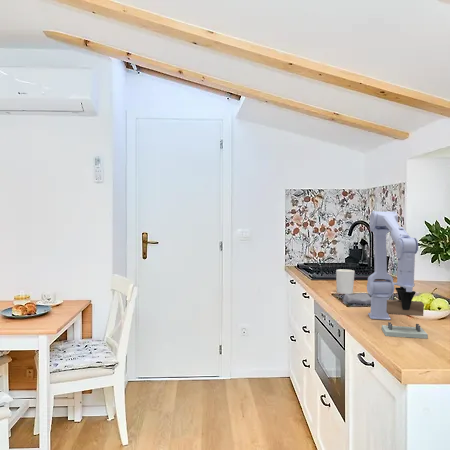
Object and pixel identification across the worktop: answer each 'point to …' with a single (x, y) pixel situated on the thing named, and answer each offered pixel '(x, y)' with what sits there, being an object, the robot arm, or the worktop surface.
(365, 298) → the stone block
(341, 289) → the candle holder
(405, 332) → the peg stand
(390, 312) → the walnut plank
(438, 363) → the worktop surface
